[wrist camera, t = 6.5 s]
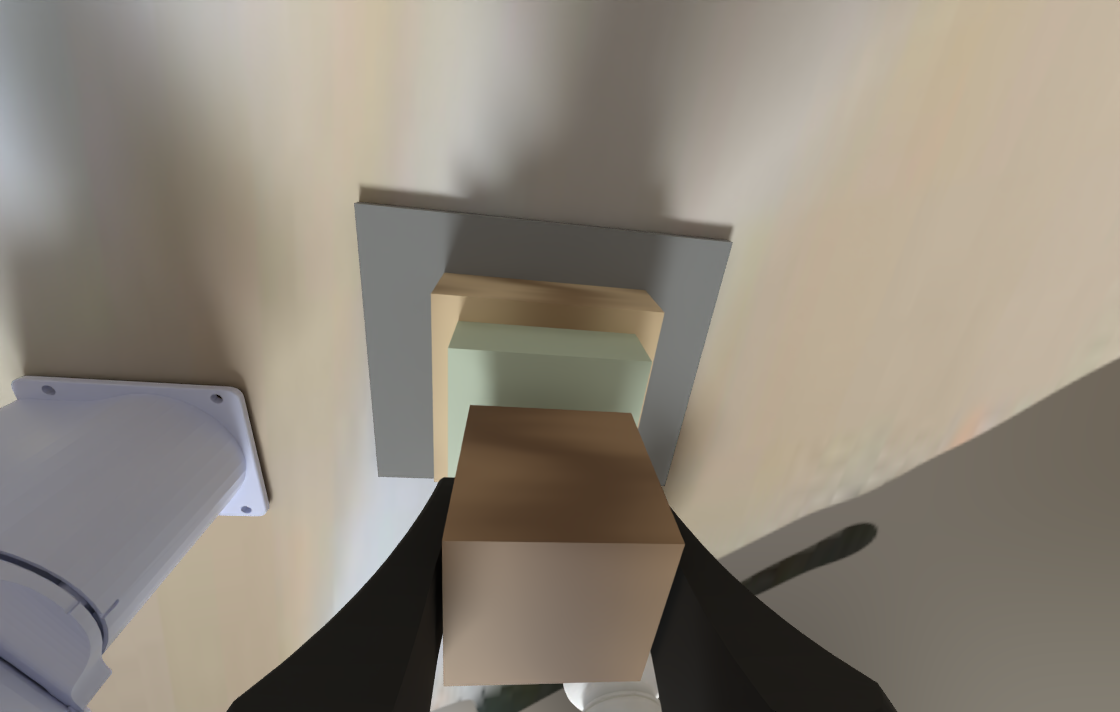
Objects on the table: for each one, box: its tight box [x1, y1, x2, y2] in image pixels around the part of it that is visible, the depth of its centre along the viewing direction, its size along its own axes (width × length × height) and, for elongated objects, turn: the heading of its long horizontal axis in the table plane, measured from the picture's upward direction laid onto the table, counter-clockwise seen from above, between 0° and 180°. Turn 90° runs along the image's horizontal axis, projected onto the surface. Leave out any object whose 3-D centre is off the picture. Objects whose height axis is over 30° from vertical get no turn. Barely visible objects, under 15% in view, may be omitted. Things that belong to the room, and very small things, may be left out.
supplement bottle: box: [563, 653, 662, 712], centre depth 24 cm, size 5×5×10 cm
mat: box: [354, 202, 733, 486], centre depth 21 cm, size 16×14×1 cm
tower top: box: [448, 321, 652, 477], centre depth 17 cm, size 7×7×2 cm
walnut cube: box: [442, 405, 685, 686], centre depth 12 cm, size 5×5×5 cm
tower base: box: [431, 273, 664, 482], centre depth 20 cm, size 9×9×3 cm
